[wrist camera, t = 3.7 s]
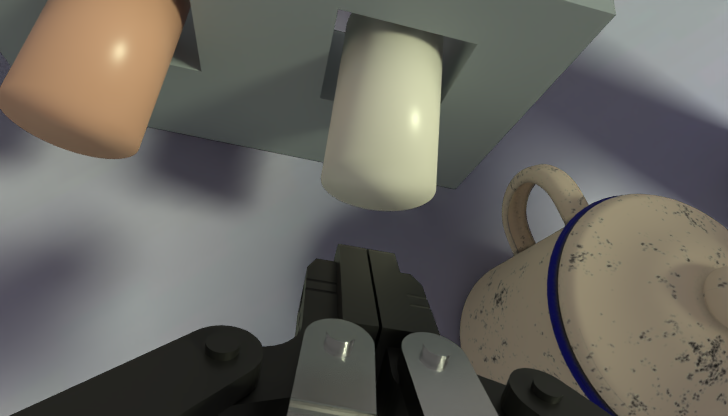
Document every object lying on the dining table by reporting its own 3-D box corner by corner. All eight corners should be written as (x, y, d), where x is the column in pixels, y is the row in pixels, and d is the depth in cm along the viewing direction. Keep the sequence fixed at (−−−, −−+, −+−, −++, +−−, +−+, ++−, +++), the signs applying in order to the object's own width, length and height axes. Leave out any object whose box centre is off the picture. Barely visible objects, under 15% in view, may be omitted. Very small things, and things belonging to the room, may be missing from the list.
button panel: (68, 43, 25) (-102, -284, 13) (457, 130, 28) (602, -69, 16) (38, 104, 23) (-188, -208, 11) (455, 189, 26) (615, 15, 14)
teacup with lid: (646, 399, 24) (955, 394, 13) (502, 477, 21) (751, 549, 10) (538, 194, 27) (714, 62, 17) (402, 235, 24) (512, 108, 14)
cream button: (338, 57, 20) (356, -17, 17) (425, 77, 21) (459, 10, 17) (314, 199, 18) (329, 146, 14) (414, 218, 18) (454, 172, 15)
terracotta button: (100, 0, 19) (64, -94, 15) (200, 24, 20) (187, -62, 16) (31, 145, 16) (-34, 70, 12) (150, 167, 17) (121, 102, 13)
